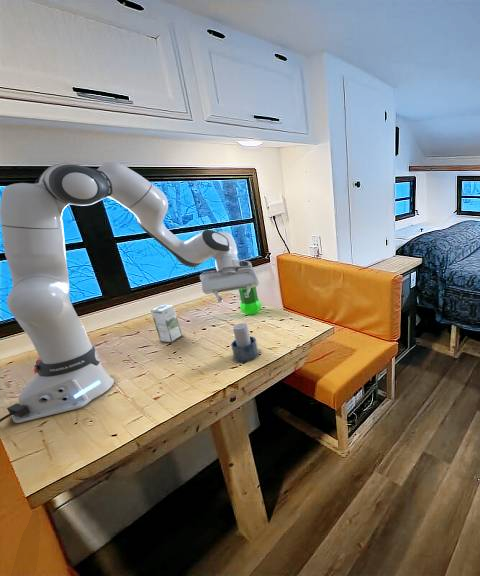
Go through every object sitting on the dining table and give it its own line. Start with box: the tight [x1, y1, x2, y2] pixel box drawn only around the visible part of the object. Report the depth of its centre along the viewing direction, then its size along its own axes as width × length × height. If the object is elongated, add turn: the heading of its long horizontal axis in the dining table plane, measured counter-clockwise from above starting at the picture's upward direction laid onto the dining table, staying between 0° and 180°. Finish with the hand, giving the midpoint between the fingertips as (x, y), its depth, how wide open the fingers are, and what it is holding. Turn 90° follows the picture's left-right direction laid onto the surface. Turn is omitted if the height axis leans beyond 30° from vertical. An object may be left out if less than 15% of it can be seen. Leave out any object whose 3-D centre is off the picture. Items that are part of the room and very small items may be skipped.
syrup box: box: [150, 304, 183, 343], centre depth 127 cm, size 6×6×14 cm
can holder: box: [230, 335, 259, 363], centre depth 114 cm, size 8×8×6 cm
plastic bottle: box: [238, 287, 262, 316], centre depth 147 cm, size 10×10×25 cm
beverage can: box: [232, 323, 251, 347], centre depth 113 cm, size 5×5×12 cm
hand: (233, 299), depth 119 cm, fingers open, 8 cm apart
